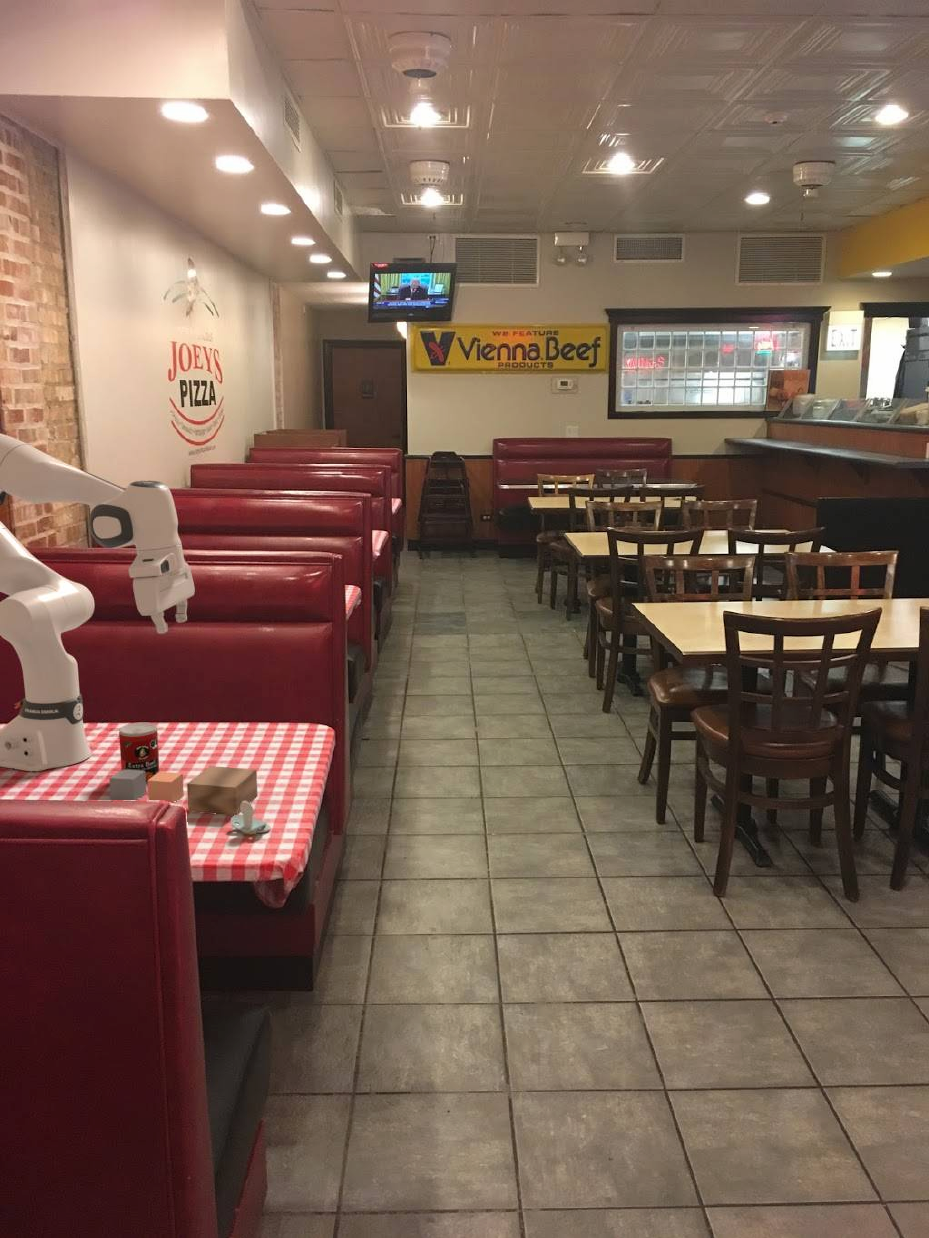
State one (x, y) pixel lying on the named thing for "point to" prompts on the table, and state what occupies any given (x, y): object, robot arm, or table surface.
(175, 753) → the table surface
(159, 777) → the terracotta cube
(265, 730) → the table surface
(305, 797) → the table surface
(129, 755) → the canned food
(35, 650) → the robot arm
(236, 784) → the walnut block
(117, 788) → the gray metal cube
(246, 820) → the pacifier
